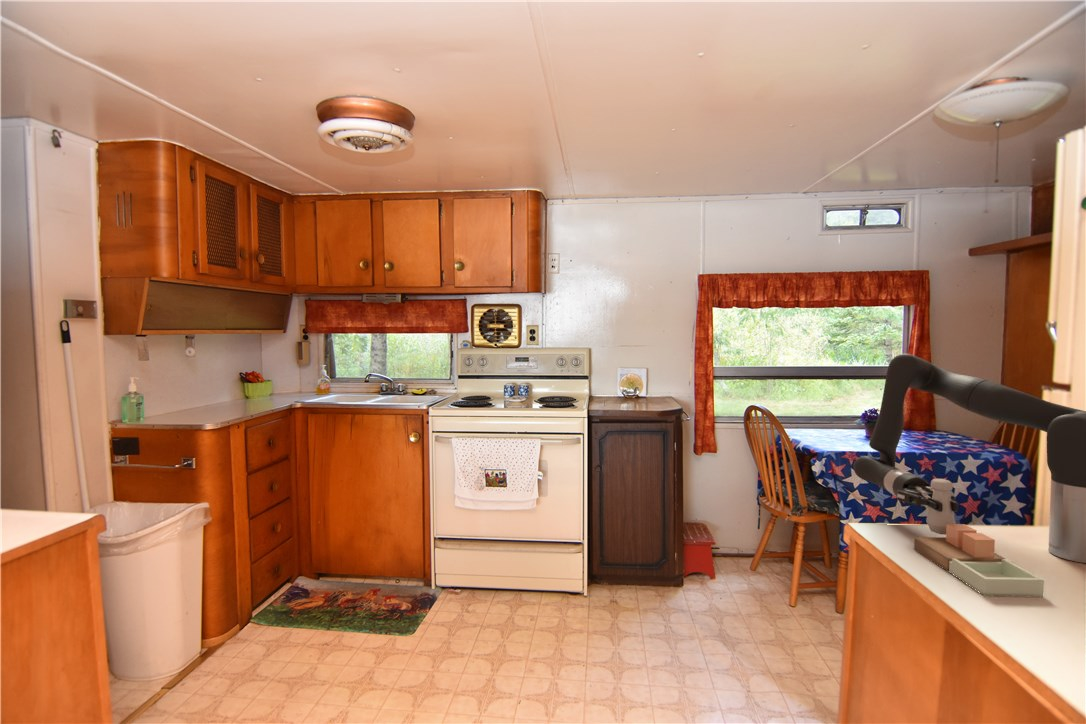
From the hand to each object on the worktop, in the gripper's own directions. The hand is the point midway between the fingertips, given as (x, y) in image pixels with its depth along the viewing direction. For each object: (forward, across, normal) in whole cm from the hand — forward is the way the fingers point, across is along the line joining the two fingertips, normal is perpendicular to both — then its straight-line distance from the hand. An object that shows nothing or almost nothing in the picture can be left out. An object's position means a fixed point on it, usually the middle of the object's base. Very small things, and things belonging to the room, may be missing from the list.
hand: (948, 507), depth 130 cm
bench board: (+7, -2, +10) cm, 12 cm away
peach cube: (+10, 0, +7) cm, 12 cm away
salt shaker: (-3, 0, +7) cm, 8 cm away
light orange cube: (+5, 0, +7) cm, 8 cm away
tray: (+18, -2, +10) cm, 21 cm away
